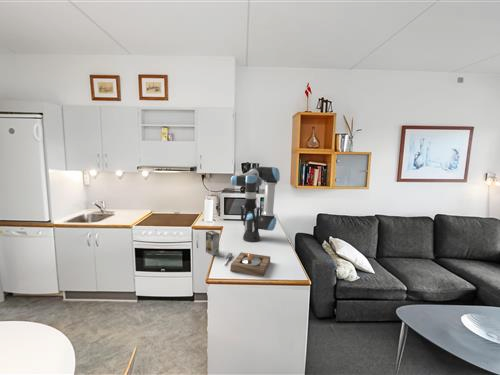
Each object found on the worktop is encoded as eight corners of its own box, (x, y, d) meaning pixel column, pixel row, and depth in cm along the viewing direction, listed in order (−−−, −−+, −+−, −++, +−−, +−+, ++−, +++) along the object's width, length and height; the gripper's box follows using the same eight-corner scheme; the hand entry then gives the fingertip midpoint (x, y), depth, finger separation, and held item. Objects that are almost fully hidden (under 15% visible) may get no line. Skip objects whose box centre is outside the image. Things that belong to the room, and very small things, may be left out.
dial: (245, 258, 182) (245, 247, 180) (262, 260, 178) (262, 249, 177) (239, 265, 170) (239, 254, 168) (258, 268, 166) (258, 257, 165)
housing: (240, 257, 188) (240, 251, 187) (270, 262, 182) (270, 256, 181) (230, 271, 167) (230, 264, 166) (263, 276, 161) (264, 269, 160)
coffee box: (205, 252, 196) (205, 231, 193) (212, 250, 200) (212, 230, 198) (212, 255, 189) (212, 234, 187) (219, 253, 194) (219, 233, 191)
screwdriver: (229, 255, 191) (229, 252, 190) (232, 256, 190) (232, 253, 190) (223, 265, 174) (223, 262, 174) (226, 266, 174) (226, 262, 173)
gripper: (236, 197, 174) (235, 230, 177) (262, 199, 169) (260, 233, 173) (239, 195, 181) (238, 227, 185) (264, 198, 177) (263, 230, 180)
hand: (249, 230), depth 179 cm, fingers open, 5 cm apart
